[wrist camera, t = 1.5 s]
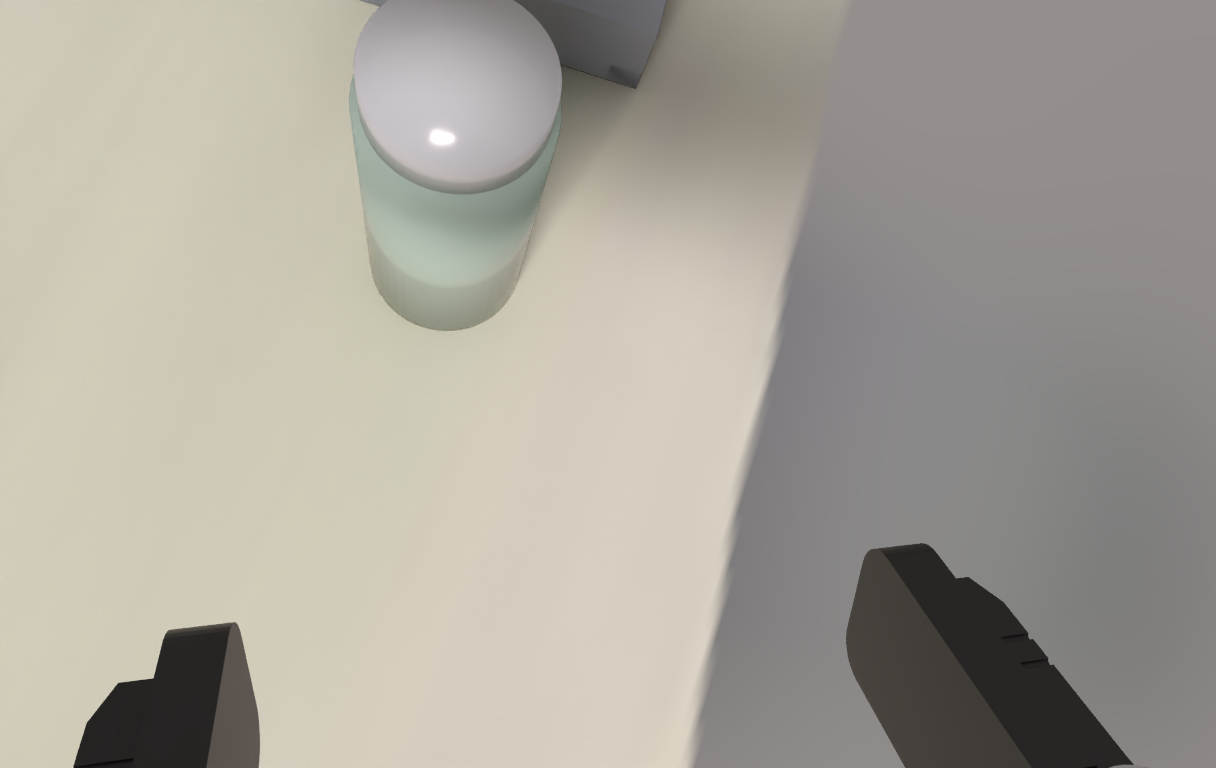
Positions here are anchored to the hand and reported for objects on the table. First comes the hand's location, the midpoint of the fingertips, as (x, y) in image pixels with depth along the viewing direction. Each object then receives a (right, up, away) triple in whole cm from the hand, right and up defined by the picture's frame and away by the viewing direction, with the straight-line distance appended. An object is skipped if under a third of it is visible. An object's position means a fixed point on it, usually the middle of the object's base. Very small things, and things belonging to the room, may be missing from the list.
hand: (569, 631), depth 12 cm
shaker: (-5, +8, +21) cm, 23 cm away
